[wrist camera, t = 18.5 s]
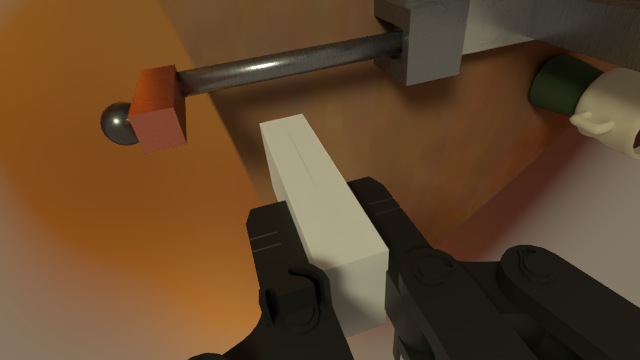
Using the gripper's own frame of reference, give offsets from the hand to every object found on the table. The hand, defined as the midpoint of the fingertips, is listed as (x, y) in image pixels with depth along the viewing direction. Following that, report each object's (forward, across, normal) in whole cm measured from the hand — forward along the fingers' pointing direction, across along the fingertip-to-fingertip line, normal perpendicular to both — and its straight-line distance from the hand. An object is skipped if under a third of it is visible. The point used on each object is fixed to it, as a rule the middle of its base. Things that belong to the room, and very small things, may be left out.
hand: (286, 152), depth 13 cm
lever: (+17, +3, -3) cm, 18 cm away
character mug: (+21, +35, -12) cm, 42 cm away
